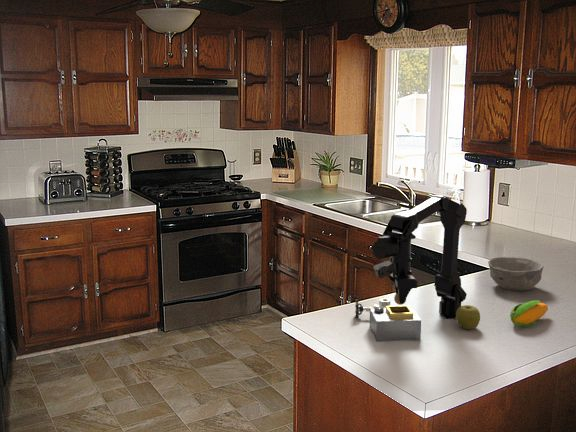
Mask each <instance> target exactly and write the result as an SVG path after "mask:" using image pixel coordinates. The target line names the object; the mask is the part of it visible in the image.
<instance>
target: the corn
mask: <svg viewBox="0 0 576 432" xmlns="http://www.w3.org/2000/svg"><path fill="white" fill-rule="evenodd" d="M548 307H549V306H548V304H545V302H541V300H537V299H536V300H530V301H526V302H524V303H519V304H518V305H515V306H514V307H513V308H512V309H511V311H510V314H509V317H510V320H511V322H512V324H513V325H514V326H518V327H519V328H525V327H530V326H531V327H532V326H533V325H535V324H537V323H539V322H540V321H542V320H543V318H542V317H543V316H544V315H545V314H546V313H547V312H548V310H549V309H548Z"/></svg>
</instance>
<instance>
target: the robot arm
mask: <svg viewBox="0 0 576 432" xmlns="http://www.w3.org/2000/svg"><path fill="white" fill-rule="evenodd" d="M436 213H439V217H440V218H439V219H440V222H441V224H442V227H443V229H444V232H443V242H442V243H443V244H442V245H443V247H442V260H441V261H442V262H441V270H440V271H439V272H438V273H437V274H436V275H435V276H434V284H433V286H434V289H435V292H436V296H437V297H438V298H440V301H439V303H438V304H439V306H438V313H439V314H440V315H441V316H442V318H444V319H456V311H457V309H458V308H459V307H460V306H462V303H463V302H464V301H465V300H466V298H467V295H468V294H467V292H466V291H465V289H464V288H463V287H462V279H461V277H460V274H459V272H458V270H457V269H458V258H459V242H460V229H462V227H463V226H464V224H465V222H466V219H467V218H466V217H467V213H468V210H467V207H466V206H465V204H464V203H459V202H456V201H454V200H452V199H450V198H449V197H447V196H445V195H440V194H433V195H432V196H431V197H430V198H428V199H427V200H425V201H424V202H422V203H420V204H418V205H417V206H415V207H413V208H411V209H409V210H405V211H399V212H397V213H394V214H392V215H391V216H390V219H389V220H388V223H387V225H386V227H385V229H384V231H383V233H382V236H377V240H376V241H375V242H374V243H373V245H372V249H371V250H372V254H373V256H374V258H375V259H377V260H384V259H388V258H389V260H386V261H383V262H380V263H377V264H375V265H373V270H374V272H375V275H376V277H377V279H383V278H384V277H387V276H388V278H389V280H390V281H391V282H392V283H393V287H394V291H395V295H396V294H397V293H398V294H399V301H400V304H402V305H404V304H405V303H404V301H405V300H406V301H407V297H408V296H409V294H410V292H411V290H412V289H417V288H418V285H419V284H418V282H419V281H417V279H416V278H415V277H414V276H413V274H412V273H413V271H412V270H411V263H412V262H413V258H412V257H411V252H412V240H415V239H416V238H417V237H416V235H415V234H413V232H414V231H416V230H417V229H418V227H419V224H420V223H421V222H422V221H425V220H427V218H430V217H431V216H432V215H434V214H436ZM403 303H404V304H403Z"/></svg>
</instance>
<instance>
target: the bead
mask: <svg viewBox="0 0 576 432" xmlns="http://www.w3.org/2000/svg"><path fill="white" fill-rule="evenodd" d="M393 299H394V302H395V303H396V304H397V305H398V306H403V305H404V304H405V303H406V302H407V299H406V300H405V301H404V303H403V304H400V301H399V294H398V293H397V294H396V293H395V295H394V297H393Z"/></svg>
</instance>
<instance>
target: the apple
mask: <svg viewBox="0 0 576 432" xmlns="http://www.w3.org/2000/svg"><path fill="white" fill-rule="evenodd" d="M455 320H456V321H457V324H458V325H459V326H460V327H461V328H464V329H466V330H475V329H476V328H477V327H479V324H480V321H481V313H480V310H479V309H478V308H477V307H476V306H473V305H470V304H469V305H468V304H465V305H461V306H460V307H459V308H458V309H457V311H456V318H455Z"/></svg>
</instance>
